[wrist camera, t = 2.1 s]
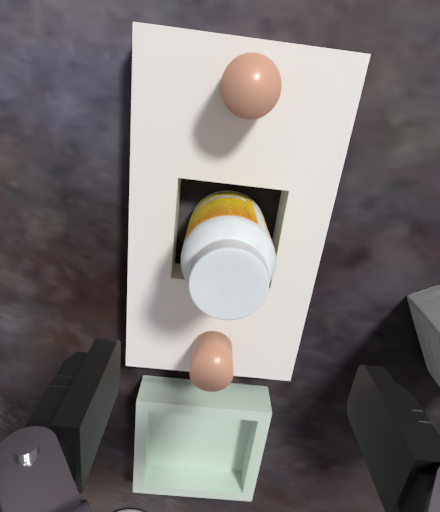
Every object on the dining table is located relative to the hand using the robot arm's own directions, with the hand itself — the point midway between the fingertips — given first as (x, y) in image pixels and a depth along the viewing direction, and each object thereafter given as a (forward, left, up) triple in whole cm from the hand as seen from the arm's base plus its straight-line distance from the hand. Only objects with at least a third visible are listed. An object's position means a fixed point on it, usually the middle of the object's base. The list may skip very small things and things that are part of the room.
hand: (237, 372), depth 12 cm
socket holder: (0, 0, -16) cm, 16 cm away
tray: (0, -20, -16) cm, 25 cm away
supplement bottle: (0, 0, -16) cm, 16 cm away
